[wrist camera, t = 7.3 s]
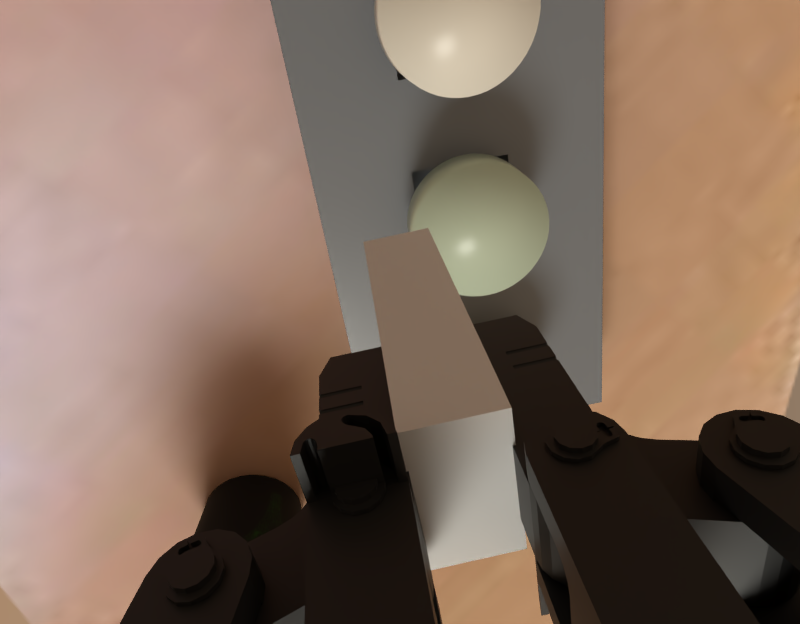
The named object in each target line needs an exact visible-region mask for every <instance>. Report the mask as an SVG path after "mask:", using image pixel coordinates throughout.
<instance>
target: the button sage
mask: <svg viewBox="0 0 800 624" xmlns="http://www.w3.org/2000/svg"><path fill="white" fill-rule="evenodd" d="M407 226H408V232H412V231H416V230H421V229H425V228H428V229H429V231H430V233H431V235H432V237H433V240H434V242H435V244H436V246H437V248H438V250H439V252H440V255H441V257H442V259H443V261H444V263H445V265H446V267H447V270H448V272H449V274H450V276H451V278H452V280H453V283H454V285H455V287H456V289H457V291H458V293H459V295H464V296H485V295H490V294H494V293H497V292H500V291H503V290H505V289H507V288H509V287H511V286H513V285H514V284H516V283H517V282H519V281H520V280H521V279H522V278H523V277H525V276H526V275H527V274H528V273H529V272H530V271H531V270H532V268H533V267H534V266H535V264H536V263H537V262H538V260H539V258H540V256H541V255H542V253H543V250H544V248H545V245H546V242H547V239H548V233H549V213H548V209H547V205H546V202H545V200H544V197H543V195H542V193H541V192H540V190H539V189H538V187H537V186H536V185H535V184H534V182H532V181H531V180H530V179H529V178H528V177H527V176H526V175H524V174H523V173H522V172H521V171H519V170H518V169H517V168H515V167H514V166H513V165H511V164H510V163H508V162H507V161H505V160H503V159H501V158H499V157H495V156H492V155H488V154H475V153H473V154H465V155H461V156H457V157H454V158H451V159H449V160H447V161H445V162H443V163H441V164H439V165H438V166H437V167H435V168H434V169H433V170H432V171H430V172H429V173H428V174H427V175H426V176H425V177H424V179H423V180H422V181H421V182H420V184H419V185H418V187H417V188H416V190H415V192H414V194H413V196H412V199H411V202H410V205H409V210H408V216H407Z"/></svg>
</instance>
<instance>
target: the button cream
mask: <svg viewBox="0 0 800 624" xmlns="http://www.w3.org/2000/svg"><path fill="white" fill-rule="evenodd" d="M540 10H541V0H375V2H374V16H375V26H376V30H377V35H378V38H379V41H380V44H381V46H382V48H383V50H384V53H385V55H386V56H387V58H388V59H389V61H390V62H391V64H392V65H393V66H394V67H395V69H396V70H397V71H398V72H399V73H400V74H401V75H403V76H404V77H405V78H406V79H407V80H409V81H410V82H411V83H413V84H414V85H416V86H417V87H419V88H420V89H422V90H424V91H426V92H429V93H431V94H434V95H437V96H441V97H447V98H464V97H471V96H475V95H478V94H481V93H483V92H486V91H488V90H490V89H492V88H494V87H495V86H497V85H499V84H500V83H501V82H503V81H504V80H505V79H506V78H507V77H509V76H510V75H511V74H512V73H513V72H514V71H515V69H516V68H517V67H518V66H519V65H520V63H521V62H522V60H523V59H524V57H525V56H526V54H527V52H528V50H529V48H530V46H531V44H532V42H533V39H534V37H535V34H536V31H537V27H538V23H539V17H540Z"/></svg>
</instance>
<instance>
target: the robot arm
mask: <svg viewBox="0 0 800 624" xmlns="http://www.w3.org/2000/svg"><path fill="white" fill-rule="evenodd" d="M363 243H364V249H365V255H366V260H367V266H368V272H369V278H370V284H371V290H372V295H373V301H374V307H375V313H376V319H377V325H378V331H379V336H380V342H381V347H377V348H372V349H368V350H363V351H359V352H354V353H349V354H345V355H340V356H336V357H331V358H330V359H329V361H328V363H327V364H326V366H325V368H324V369H323V371H322V373H321V374H320V376H319V396H320V399H319V412H320V415H319V419H318V420H317V421H315V422H314V423H312V424H311V425H309V426H308V427H306V428H305V430H304V431H303V432H302V433H301V434H300V435H299V437H298V438H297V439H296V440H295V442H294V445H293V448H292V451H291V454H290V458H291V461H292V463H293V466H294V469H295V472H296V474H297V477H298V480H299V482H300V485H301V488H302V490H303V493H304V496H305V498H306V501H307V503H306V505H305V506H304V507H303V509H301V510H300V511H299V512H298V513H297V514H296V515H295V516H294V517H292V518H291V519H290V520H288V521H287V522H285V523H283V524H282V525H280V526H278V527H277V528H275V529H273V530H271V531H269V532H267V533H265V534H263V535H261V536H259V537H257V538H255V539H253V540H251V541H249V542H247V541H246V540H245V539H243V538H242V537H241V536H240V535H238V534H237V533H236V532H233V531H227V530H221V529H215V530H210V531H205V532H200V533H197V534H195V535H193V536H191V537H188V538H186V539H184V540H182V541H180V542H178V543H177V544H176V545H174V546H173V547H172V548H171V549H170V550H168V551H167V552H166V553H165V554H163V555H162V556H161V557H160V558H159V559H158V560H157V562H156V563H155V564H154V566H153V567H152V568H151V570H150V571H149V572H148V574H147V575H146V577H145V578H144V580H143V582H142V584H141V586H140V587H139V589H138V591H137V593H136V595H135V597H134V598H133V600H132V602H131V604H130V606H129V608H128V609H127V611H126V613H125V615H124V617H123V619H122V620H121V622H120V624H442V620H441V615H440V609H439V605H438V600H437V596H436V592H435V588H434V584H433V579H432V573H431V570H434V569H439V568H443V567H448V566H452V565H457V564H461V563H465V562H470V561H474V560H479V559H483V558H487V557H492V556H496V555H501V554H505V553H510V552H514V551H518V550H523V549H527V545H526V535H525V531H526V534H527V536H528V539H529V542H530V544H531V547H532V549H533V552H534V555H535V560H536V571H537V581H538V591H539V601H540V608H541V615H546V614H549V613H550V616H551V619H552V621H553V624H800V424H799V423H797V422H795V421H793V420H791V419H788V418H786V417H784V416H782V415H777V414H773V413H769V412H764V411H760V410H733V411H729V412H726V413H722V414H718V415H716V416H714V417H713V418H711V419H710V420H709V421H707V422H706V423H705V424H704V425H703V427H702V430H701V433H700V435H699V440H698V441H692V440H656V439H646V438H639V437H635V436H631V435H628V434H627V433H626V431H625V430H624V429H623V428H621V427H620V426H619V425H618V424H617V423H616V422H615V421H614V420H612V419H610V418H608V417H606V416H604V415H601V414H599V413H597V412H592V410H591V409H590V407H589V406H588V404H587V403H586V401H585V400H584V398H583V397H582V395H581V393H580V392H579V390H578V389H577V387H576V386H575V384H574V383H573V381H572V380H571V378H570V377H569V375H568V374H567V372H566V371H565V369H564V368H563V366H562V365H561V363H560V361H559V360H557V359H556V355H555V354H554V352H553V351H552V349H551V348H550V346H548V345H547V342H546V340H545V339H544V337H543V336H542V334H541V333H540V331H539V329H538V328H537V326H535V325H533V324H531V323H530V322H528V321H526V320H524V319H523V318H521V317H519V316H518V315H514V316H509V317H505V318H500V319H495V320H491V321H486V322H482V323H477V324H473V323H472V321H471V319H470V317H469V315H468V313H467V311H466V308H465V306H464V304H463V302H462V300H461V298H460V295H459V293H458V291H457V289H456V287H455V285H454V283H453V280H452V278H451V276H450V274H449V272H448V270H447V267H446V265H445V263H444V261H443V259H442V257H441V255H440V252H439V250H438V248H437V246H436V244H435V242H434V240H433V237H432V235H431V233H430V231H429V229H428V228H425V229H421V230H416V231H412V232H407V233H402V234H398V235H393V236H388V237H384V238H379V239H375V240H370V241H365V242H363Z"/></svg>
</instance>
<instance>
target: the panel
mask: <svg viewBox="0 0 800 624" xmlns="http://www.w3.org/2000/svg"><path fill="white" fill-rule="evenodd" d="M270 1H271V5H272V10H273V14H274V18H275V23H276V27H277V31H278V36H279V40H280V44H281V49H282V53H283V58H284V62H285V66H286V71H287V75H288V79H289V84H290V88H291V92H292V97H293V101H294V105H295V110H296V114H297V118H298V123H299V127H300V131H301V136H302V140H303V145H304V149H305V153H306V158H307V162H308V166H309V171H310V175H311V179H312V184H313V188H314V192H315V197H316V201H317V205H318V210H319V214H320V218H321V223H322V227H323V232H324V236H325V240H326V245H327V249H328V253H329V258H330V262H331V266H332V271H333V275H334V279H335V284H336V288H337V292H338V297H339V301H340V305H341V310H342V314H343V319H344V323H345V327H346V332H347V336H348V340H349V345H350V349H351V353H354V352H359V351H363V350H368V349H372V348H377V347H381V342H380V336H379V331H378V325H377V319H376V313H375V307H374V301H373V295H372V290H371V284H370V278H369V272H368V266H367V260H366V255H365V249H364V243H363V242H365V241H370V240H375V239H379V238H384V237H388V236H393V235H398V234H402V233H407V232H408V226H407V216H408V210H409V205H410V202H411V199H412V196H413V194H414V192H415V190H416V188H417V187H418V185H419V184H420V182H421V181H422V180H423V179H424V177H425V176H426V175H427V174H428V173H429V172H430V171H432V170H433V169H434V168H435V167H437V166H438V165H439V164H441V163H443V162H445V161H447V160H449V159H451V158H454V157H457V156H461V155H465V154H473V153H475V154H488V155H492V156H495V157H499V158H501V159H503V160H505V161H507V162H508V163H510V164H511V165H513V166H514V167H515V168H517V169H518V170H519V171H521V172H522V173H523V174H524V175H526V176H527V177H528V178H529V179H530V180H531V181H532V182H534V184H535V185H536V186H537V187H538V189H539V190H540V192H541V193H542V195H543V197H544V200H545V202H546V205H547V209H548V213H549V233H548V239H547V242H546V245H545V248H544V250H543V253H542V255H541V256H540V258H539V260H538V262H537V263H536V264H535V266H534V267H533V268H532V270H531V271H530V272H529V273H528V274H527V275H526V276H525V277H523V278H522V279H521V280H520V281H519V282H517V283H516V284H514V285H513V286H511V287H509V288H507V289H505V290H503V291H500V292H497V293H494V294H490V295H485V296H464V295H460V298H461V300H462V302H463V304H464V306H465V308H466V311H467V313H468V315H469V317H470V319H471V321H472V323H473V324H477V323H482V322H486V321H491V320H495V319H500V318H505V317H509V316H514V315H518V316H519V317H521V318H523V319H524V320H526V321H528V322H530V323H531V324H533V325H535V326H537V328H538V329H539V331H540V333H541V334H542V336H543V337H544V339H545V340H546V342H547V345H548V346H550V348H551V349H552V351H553V352H554V354H555V355H556V359H557V360H559V361H560V363H561V365H562V366H563V368H564V369H565V371H566V372H567V374H568V375H569V377H570V378H571V380H572V381H573V383H574V384H575V386H576V387H577V389H578V390H579V392H580V393H581V395H582V397H583V398H584V400H585V401H586V403H587V404H588V405H589V404H594V403H599V402H602V285H603V153H604V20H605V0H541V10H540V17H539V23H538V27H537V31H536V34H535V37H534V39H533V42H532V44H531V46H530V48H529V50H528V52H527V54H526V56H525V57H524V59H523V60H522V62H521V63H520V65H519V66H518V67H517V68H516V69H515V71H514V72H513V73H512V74H511V75H510V76H509V77H507V78H506V79H505V80H504V81H503V82H501V83H500V84H499V85H497V86H495V87H494V88H492V89H490V90H488V91H486V92H483V93H481V94H478V95H475V96H471V97H464V98H447V97H441V96H437V95H434V94H431V93H429V92H426V91H424V90H422V89H420V88H419V87H417V86H416V85H414V84H413V83H411V82H410V81H409V80H407V79H406V78H405V77H404V76H403V75H401V74H400V73H399V72H398V71H397V70H396V69H395V67H394V66H393V65H392V64H391V62H390V61H389V59H388V58H387V56H386V55H385V53H384V50H383V48H382V46H381V44H380V41H379V38H378V35H377V30H376V26H375V16H374V2H375V0H270Z"/></svg>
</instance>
